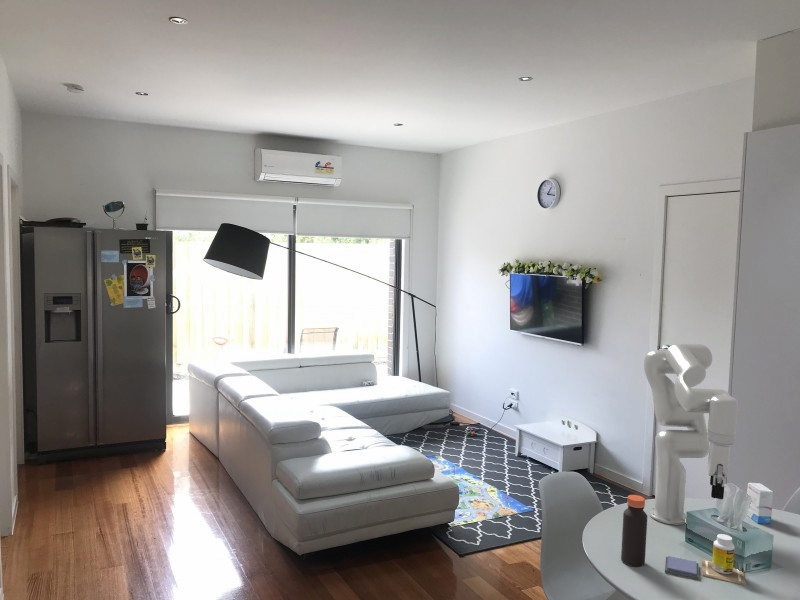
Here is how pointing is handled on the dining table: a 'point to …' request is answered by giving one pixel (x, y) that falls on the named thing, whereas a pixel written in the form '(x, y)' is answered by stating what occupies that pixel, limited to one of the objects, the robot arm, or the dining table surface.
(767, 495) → the ink box
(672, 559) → the ink pad
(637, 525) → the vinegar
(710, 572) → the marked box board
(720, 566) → the supplement bottle
